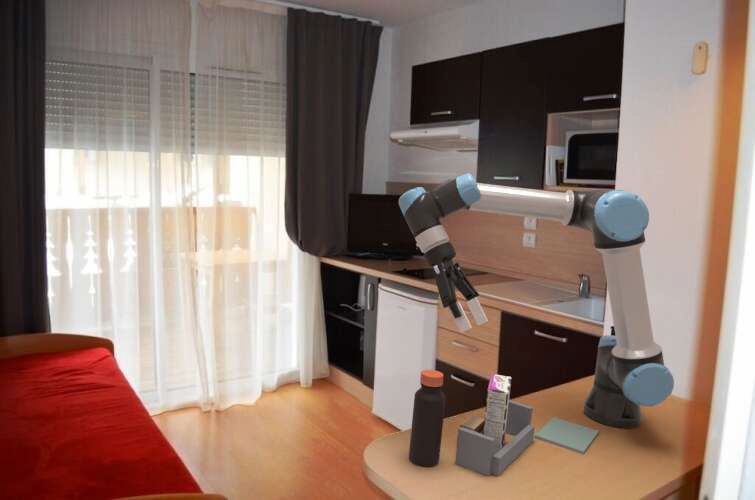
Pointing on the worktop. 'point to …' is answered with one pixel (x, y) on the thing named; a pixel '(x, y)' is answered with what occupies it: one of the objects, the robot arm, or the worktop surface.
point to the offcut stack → (474, 424)
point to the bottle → (427, 420)
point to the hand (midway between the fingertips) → (475, 326)
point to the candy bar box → (497, 409)
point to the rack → (480, 448)
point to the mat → (567, 435)
